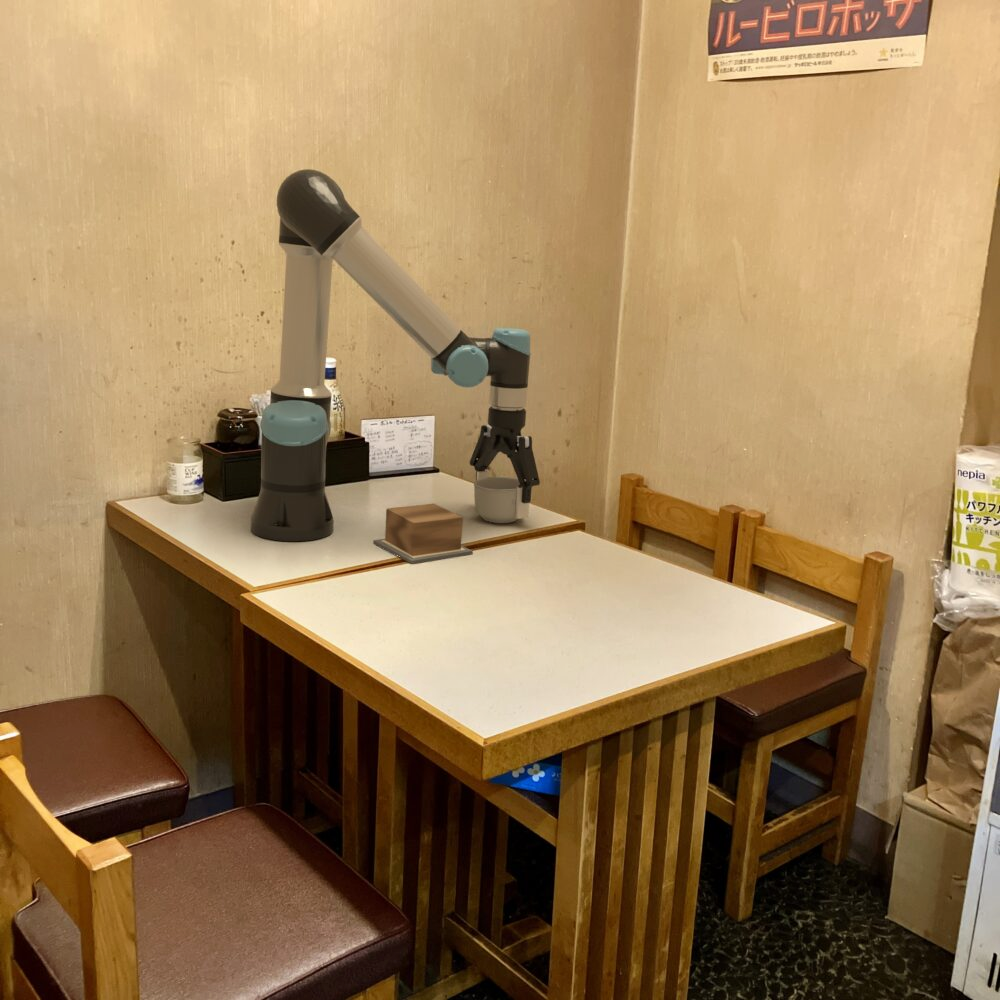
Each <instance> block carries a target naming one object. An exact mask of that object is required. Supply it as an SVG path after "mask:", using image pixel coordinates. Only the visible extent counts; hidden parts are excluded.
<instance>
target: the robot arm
mask: <svg viewBox="0 0 1000 1000" xmlns="http://www.w3.org/2000/svg"><path fill="white" fill-rule="evenodd" d="M276 207H277V213H278V215H279V232H278V233H279V234H278V235H279V236H278V245H279V247H280V248H281V249H282V251H284V253H285V255H286V256H285V258H286V259H285V275H284V292H283V310H282V311H283V312H282V327H281V344H280V345H281V347H280V366H279V381H278V382H277V383H275V384H274V385H273V386H272V387H271V388H270V400H269V401H270V403H269V404H268V405H266V407H265V408H263V411H262V413H261V419H260V423H259V424H260V425H259V427H260V430H261V431H260V432H261V444H260V446H261V447H260V448H261V449H260V450H261V451H260V452H261V453H260V454H261V455H260V456H261V457H260V459H261V461H260V462H261V463H260V467H261V468H260V491H259V494H258V496H257V498H256V499H257V500H256V502H255V506H254V508H253V511H252V514H251V517H250V531H251V533H253V534H254V535H255V536H258V537H259V538H260V537H261V538H264V539H267V540H273V541H281V542H306V541H313V540H314V541H315V540H318V539H323V538H325V537H328V536H330V535H331V534H332V533H333V532H334V523H335V521H334V516H333V513H332V509H331V506H330V503H329V499H328V496H327V493H326V467H327V466H326V464H327V463H326V460H327V459H326V458H327V445H328V440H329V437H330V436H331V435H330V434H331V431H332V423H331V410H332V409H331V406H332V392H331V391H330V390H329V388H328V387H327V386H326V385H325V383H326V382H325V381H326V380H325V379H326V366H327V350H328V335H329V334H328V332H329V322H330V320H329V319H330V306H331V304H330V303H331V290H332V277H333V276H332V275H333V273H332V272H333V260H334V261H335V262H336V264H337V265H338V266H339V267H341V269H343V271H344V272H345V273H347V274H348V276H349V277H350V278H351V279H352V280H353V281H354V282H355V283H357V284H358V286H359V287H361V289H362V290H363V291H365V293H366V294H367V295H368V296H369V297H370V298H371V299H373V301H374V302H376V304H377V305H378V306H379V307H380V308H381V309H382V310H383V311H384V312H385V313H386V314H387V315H388V316H389V317H390V318H391V319H393V321H394V322H395V323H396V324H397V325H398V326H399V327H400V328H401V329H402V330H403V331H404V332H405V333H406V334H407V335H408V336H409V337H410V338H411V339H412V340H413V341H414V342H415V343H416V344H417V345H418V346H419V347H420V348H421V349H422V350H423V352H425V353H426V354H427V355H428V356H429V357H430V370H431V372H432V374H435V375H442V376H445V377H446V376H448V378H449V379H450V381H451V382H453V383H454V384H455V385H457V386H458V387H462V388H468V389H469V388H475V387H476V386H478V385H479V384H481V383H483V381H484V380H485V379H486V377H489V378H490V381H489V395H488V404H489V405H490V407H488V415H487V423H488V424H483V425H481V426H480V432H479V436H478V440H477V442H476V444H475V447H474V449H473V452H472V454H471V457H470V460H469V466H470V467H473V468H474V470H475V481H476V480H478V479H482V478H486V477H490V472H491V471H490V468H489V466H490V465H491V463H492V462H493V461H494V460H495V458H496V456H497V455H498V454H499V453H502V455H503V454H504V455H506V457H507V458H508V459H509V460H510V462H511V465H512V467H513V470H514V473H515V475H516V478H518V480H519V483H520V485H519V486H517V500H516V515H515V518H516V519H517V520H519V519H527V518H529V511H530V510H529V509H530V503H531V499H532V488H533V487H534V486H539V485H540V481H541V480H540V477H539V473H538V469H537V464H536V459H535V456H534V451H533V438H532V435H531V436H530V435H528V436H527V435H526V436H522V429H524V428H525V427H526V419H527V410H526V409H525V407H527V400H528V385H529V374H530V373H529V372H530V361H531V355H532V354H531V334H530V333H529V332H528V331H527V330H525V329H522V328H514V327H513V328H512V327H496V328H495V329H493V333H492V335H491V337H485V338H484V337H483V338H482V337H472V336H471V337H469V336H468V335H467V334H466V333H465V332H464V331H462V329H461V327H459V326H458V325H457V324H456V323H455V321H454V320H453V319H452V318H451V317H450V316H448V314H447V313H446V312H445V311H444V310H443V309H442V308H441V307H440V306H439V305H438V304H437V303H436V302H435V301H434V300H433V299H432V297H430V296H429V294H428V293H427V292H426V291H424V289H422V288H421V286H420V284H419V285H418V283H417V282H416V281H415V280H414V279H413V278H412V277H411V276H410V275H409V274H408V273H407V272H406V271H405V270H404V269H403V268H402V267H401V265H399V263H398V262H397V261H395V259H393V258H392V256H391V255H390V254H388V252H387V251H386V250H385V249H384V248H383V247H382V246H381V245H380V244H379V243H378V242H377V241H376V240H375V239H374V238H373V237H372V236H371V234H369V232H367V231H366V230H365V228H364V227H363V223H362V217H361V216H360V215H359V214H358V213H357V212H356V210H355V209H353V207H352V206H351V205H350V203H348V201H347V200H346V198H345V195H344V192H343V191H342V189H341V187H340V186H339V184H338V183H337V182H335V180H334V179H333V178H331V177H330V176H329V175H327V174H326V173H324V172H322V171H319V170H316V169H308V168H307V169H305V168H304V169H300V170H297V171H295V172H293V173H290V175H288V176H287V177H286V178H285V179H284V180H283V182H281V184H280V185H279V189H278V191H277V195H276Z"/></svg>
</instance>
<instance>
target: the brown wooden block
mask: <svg viewBox="0 0 1000 1000" xmlns="http://www.w3.org/2000/svg"><path fill="white" fill-rule="evenodd" d="M385 513H386V514H385V536H384V537H385V538H384V539H385V540H386V541H387V542H389V543H391V544H392V545H394V546H396V547H398V548H399V549H401V550H403V551H405V552H406V553H408V554H410V555H411V556H417V555H424V554H432V553H439V552H446V551H453V550H460V549H461V545H462V538H463V537H462V535H463V534H462V533H463V532H462V531H463V522H464V521H463V516H460V515H459V514H457V513H454V512H452V511H450V510H449V509H446V508H445V507H442V506H440V505H438V504H436V503H427V504H417V505H407V506H399V507H388V508H386V511H385Z"/></svg>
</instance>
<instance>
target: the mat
mask: <svg viewBox="0 0 1000 1000" xmlns="http://www.w3.org/2000/svg"><path fill="white" fill-rule="evenodd" d="M372 542H373V543H374V545H375V544H376V545H375V546H377V545H378V546H377V547H379V546H380V547H379V548H381V549H383V548H384V549H383V550H385V551H386V550H387V551H386V552H388V551H389V552H388V553H391V554H392V553H393V555H394V554H395V555H394V556H396V555H398V556H400V557H401V558H402V559H401V558H400V559H401V560H403V561H404V562H405V561H406V562H407V563H409V564H411V565H414V564H421V563H426V562H427V563H428V562H432V561H438V560H446V559H449V558H450V559H451V558H457V557H464V556H468V555H473V553H474V552H473V550H471V549H469V548H467V547H466V546H463V544H461V549H460V550H453V551H446V552H439V553H432V554H424V555H417V556H411V555H410V554H408V553H406V552H405V551H403V550H401V549H399V548H398V547H396V546H394V545H392V544H391V543H389V542H387V541H386V540H385V538H381V539H380V538H379V539H374V540H373V541H372ZM398 556H397V557H398Z"/></svg>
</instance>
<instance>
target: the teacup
mask: <svg viewBox="0 0 1000 1000" xmlns="http://www.w3.org/2000/svg"><path fill="white" fill-rule="evenodd" d="M519 485H520V483H519V480H518V478H517V477H511V476H505V475H502V474H501V475H498V476H489V477H486V478H482V479H478V480H476V479H475V481H474V482H473V486H474V489H473V490H474V493H473V496H474V508H475V512H476V513H477V514H478V515H479V516H480V517H482V519H483V520H484V521H486V522H488V521H489V523H492V522H493V523H494V524H509V523H513V522H515V521H517V520H518V519H516V518H515V515H516V500H517V486H519ZM493 523H492V524H493Z"/></svg>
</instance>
